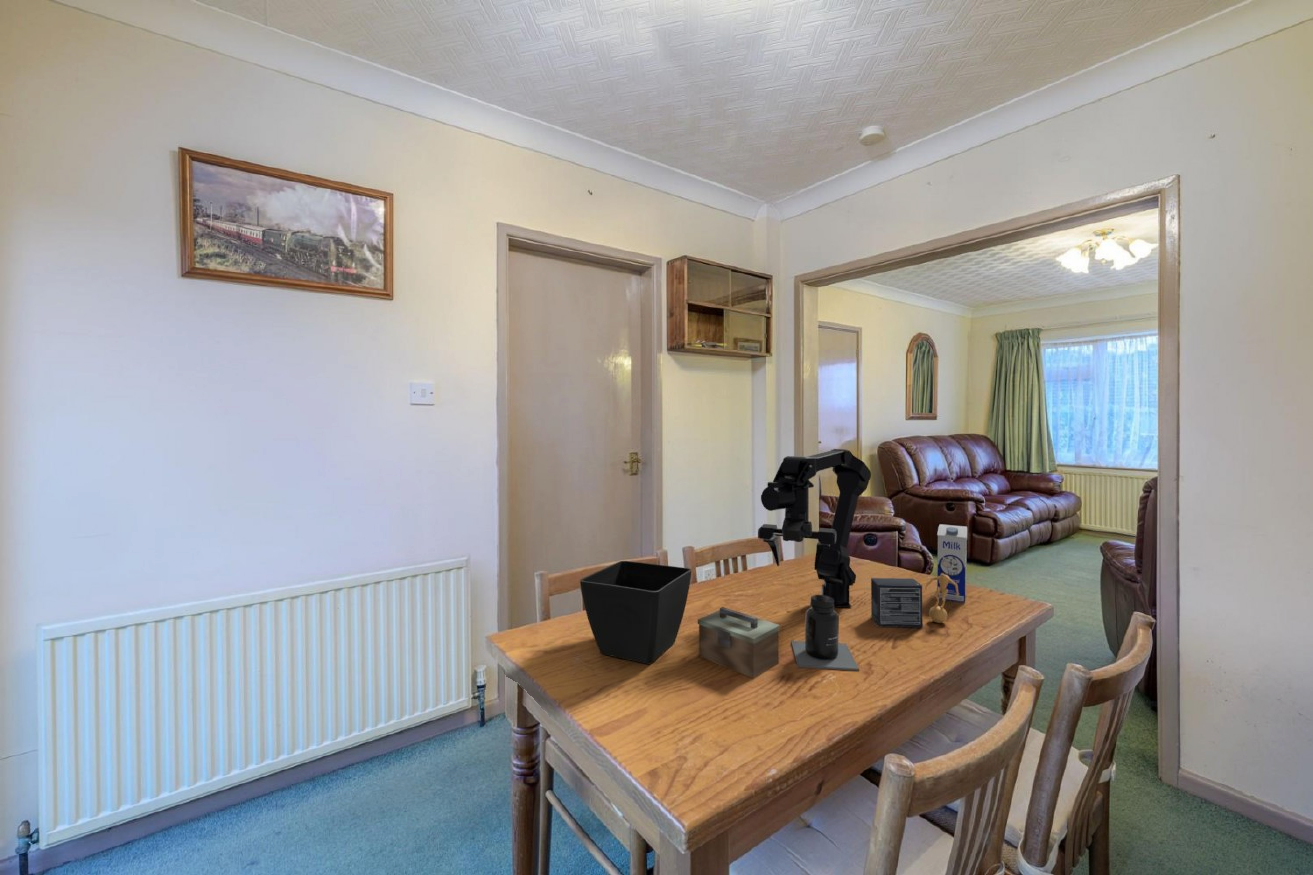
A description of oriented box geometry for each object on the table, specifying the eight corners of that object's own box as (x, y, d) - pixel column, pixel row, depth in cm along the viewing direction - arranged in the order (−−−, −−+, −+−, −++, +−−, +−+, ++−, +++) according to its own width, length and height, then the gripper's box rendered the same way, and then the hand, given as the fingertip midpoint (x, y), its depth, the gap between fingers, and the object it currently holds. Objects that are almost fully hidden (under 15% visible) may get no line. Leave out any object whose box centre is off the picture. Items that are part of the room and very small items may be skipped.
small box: (913, 618, 134) (913, 577, 133) (923, 628, 127) (924, 585, 127) (870, 617, 135) (870, 576, 134) (878, 627, 128) (878, 584, 128)
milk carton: (966, 595, 150) (967, 525, 149) (965, 603, 144) (966, 530, 143) (938, 591, 154) (939, 523, 153) (936, 598, 148) (937, 527, 147)
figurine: (917, 618, 133) (917, 571, 133) (930, 613, 137) (930, 567, 136) (950, 629, 126) (951, 580, 126) (963, 624, 130) (964, 575, 129)
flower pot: (622, 625, 130) (621, 558, 130) (693, 639, 122) (693, 567, 121) (578, 657, 113) (577, 579, 113) (657, 675, 105) (657, 592, 104)
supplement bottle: (837, 662, 109) (837, 605, 108) (803, 657, 112) (803, 601, 111) (839, 649, 115) (839, 594, 115) (807, 644, 118) (807, 591, 117)
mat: (846, 645, 118) (846, 643, 118) (859, 670, 106) (859, 668, 106) (791, 642, 120) (791, 640, 120) (797, 667, 108) (797, 665, 108)
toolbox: (696, 656, 113) (696, 610, 113) (724, 642, 120) (724, 599, 120) (753, 679, 103) (753, 629, 103) (780, 663, 110) (780, 615, 110)
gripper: (753, 509, 130) (753, 572, 130) (833, 514, 122) (832, 580, 123) (762, 502, 140) (762, 560, 140) (836, 506, 132) (836, 568, 133)
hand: (796, 567), depth 134 cm, fingers open, 9 cm apart
